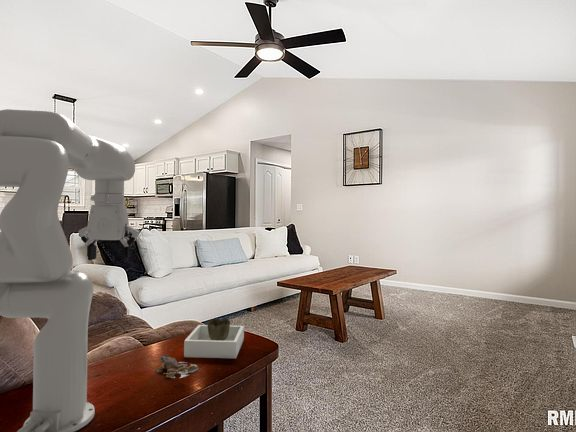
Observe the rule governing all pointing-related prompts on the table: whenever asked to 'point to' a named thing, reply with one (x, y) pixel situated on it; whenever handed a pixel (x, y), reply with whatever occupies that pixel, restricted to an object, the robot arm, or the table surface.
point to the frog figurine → (175, 367)
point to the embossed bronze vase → (218, 329)
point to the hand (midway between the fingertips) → (108, 259)
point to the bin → (213, 343)
